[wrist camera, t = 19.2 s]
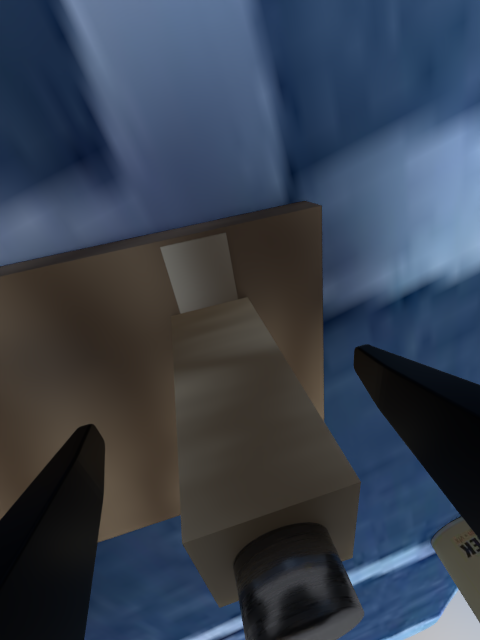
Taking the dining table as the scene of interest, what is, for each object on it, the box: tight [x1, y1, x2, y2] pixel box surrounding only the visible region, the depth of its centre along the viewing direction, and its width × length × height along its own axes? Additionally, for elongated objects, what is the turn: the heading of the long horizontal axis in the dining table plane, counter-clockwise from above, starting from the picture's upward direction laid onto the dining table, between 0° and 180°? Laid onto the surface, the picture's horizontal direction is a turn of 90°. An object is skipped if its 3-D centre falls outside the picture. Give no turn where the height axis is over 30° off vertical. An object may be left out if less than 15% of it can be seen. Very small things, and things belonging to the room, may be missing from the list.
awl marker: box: [171, 297, 364, 640], centre depth 9 cm, size 3×3×9 cm
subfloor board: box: [0, 201, 324, 543], centre depth 15 cm, size 20×17×2 cm
